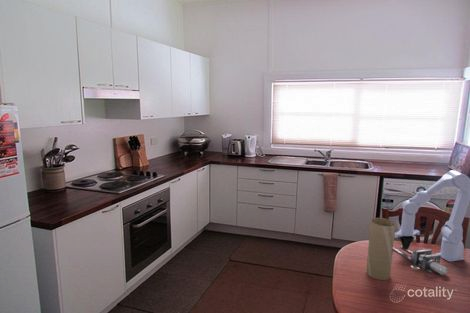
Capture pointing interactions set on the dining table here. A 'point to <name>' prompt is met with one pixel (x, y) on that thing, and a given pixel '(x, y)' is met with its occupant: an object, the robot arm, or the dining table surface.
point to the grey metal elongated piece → (432, 265)
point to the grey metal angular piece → (425, 258)
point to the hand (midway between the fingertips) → (405, 248)
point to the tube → (380, 248)
